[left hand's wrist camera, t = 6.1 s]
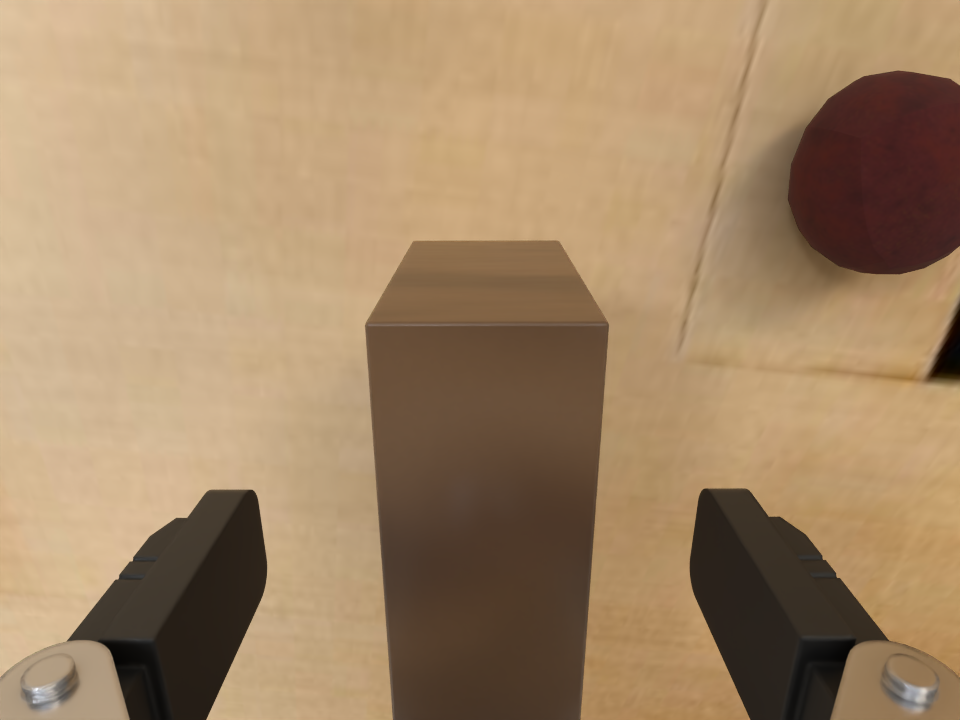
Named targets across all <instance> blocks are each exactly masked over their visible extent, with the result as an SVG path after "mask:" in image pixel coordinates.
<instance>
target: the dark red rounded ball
mask: <svg viewBox="0 0 960 720" xmlns="http://www.w3.org/2000/svg"><path fill="white" fill-rule="evenodd" d="M788 201H789V204H790V207H791V209H792V212H793V215H794V218H795V221H796V223H797V226H798V228H799V230H800V232H801V233H802V234H803V236H804V237H805V238H806V240H807V241H808V243H809V244H810V245H811V247H813V248H814V249H815V250H817V251H818V252H819V253H821V254H822V255H824V256H825V257H826V258H828V259H829V260H831V261H832V262H834V263H835V264H836V265H838V266H840V267H844V268H847V269H851V270H854V271H858V272H862V273H871V274H903V273H907V272H911V271H915V270H919V269H923V268H925V267H927V266H929V265H931V264H933V263H935V262H937V261H939V260H940V259H942V258H944V257H946V256H948V255H949V254H950V253H952V252H953V251H954V250H955V249H956V248H958V247H959V246H960V85H958V84H957V83H955V82H954V81H952V80H951V79H947V78H942V77H936V76H931V75H925V74H919V73H914V72H905V71H893V72H887V73H881V74H875V75H869V76H864V77H862V78H860V79H858V80H856V81H854V82H853V83H851V84H850V85H848V86H847V87H845V88H844V89H842V90H841V91H839V92H838V93H836V94H835V95H834V96H832V97H831V98H829V99H828V100H827V101H826V103H825V104H824V105H823V107H822V108H821V109H820V110H819V112H818V113H817V114H816V116H815V117H814V118H813V120H812V121H811V122H810V124H809V125H808V126H807V128H806V129H805V132H804V134H803V137H802V139H801V142H800V144H799V146H798V149H797V151H796V154H795V156H794V159H793V161H792V164H791V172H790V182H789V193H788Z"/></svg>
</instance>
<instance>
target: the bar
mask: <svg viewBox="0 0 960 720" xmlns="http://www.w3.org/2000/svg"><path fill="white" fill-rule="evenodd" d="M365 331H366V345H367V359H368V373H369V387H370V401H371V415H372V430H373V444H374V458H375V472H376V486H377V500H378V514H379V529H380V543H381V557H382V571H383V585H384V599H385V613H386V628H387V642H388V656H389V670H390V684H391V698H392V712H393V720H580V717H581V704H582V690H583V676H584V662H585V648H586V635H587V621H588V607H589V593H590V579H591V565H592V552H593V538H594V524H595V510H596V496H597V483H598V469H599V455H600V441H601V427H602V413H603V400H604V386H605V372H606V358H607V344H608V331H609V324H608V322H607V320H606V319H605V317H604V315H603V314H602V312H601V310H600V309H599V307H598V305H597V304H596V302H595V300H594V299H593V297H592V295H591V294H590V292H589V290H588V289H587V287H586V285H585V284H584V282H583V280H582V279H581V277H580V275H579V274H578V272H577V270H576V269H575V267H574V265H573V264H572V262H571V260H570V259H569V257H568V255H567V254H566V252H565V250H564V249H563V247H562V245H561V244H560V242H559V241H414V242H413V243H412V244H411V246H410V248H409V250H408V251H407V253H406V255H405V257H404V258H403V260H402V262H401V263H400V265H399V267H398V269H397V270H396V272H395V274H394V276H393V277H392V279H391V281H390V282H389V284H388V286H387V288H386V289H385V291H384V293H383V294H382V296H381V298H380V300H379V301H378V303H377V305H376V307H375V308H374V310H373V312H372V313H371V315H370V317H369V319H368V320H367V322H366V325H365Z"/></svg>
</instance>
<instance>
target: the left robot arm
mask: <svg viewBox="0 0 960 720" xmlns="http://www.w3.org/2000/svg"><path fill="white" fill-rule="evenodd" d="M266 578H267V559H266V552H265V545H264V538H263V531H262V524H261V517H260V510H259V503H258V498H257V495H256V493H255V492H254V491H253V490H209V491H208V492H206V494H205V495H204V496H203V497H202V499H201V500H200V501H199V503H198V504H197V506H196V507H195V508H194V510H193V511H192V512H191V514H190V515H189V516H188V518H176V519H174V520H173V521H171V522H170V523H168V524H167V525H166V526H164V527H163V528H161V529H160V530H158V531H157V532H155V533H154V534H153V535H151V536H150V537H149V538H148V539H147V541H146V542H145V543H144V545H143V546H142V547H141V548H140V550H139V551H138V552H137V553H136V555H135V556H134V557H133V562H129V563H128V565H127V566H126V567H125V569H124V570H123V571H122V572H121V574H120V575H119V580H115V581H114V582H113V584H112V585H111V586H110V587H109V589H108V590H107V591H106V592H105V594H104V595H103V596H102V598H101V599H100V600H99V601H98V603H97V604H96V605H95V606H94V608H93V609H92V610H91V611H90V613H89V614H88V615H87V616H86V618H85V619H84V620H83V622H82V623H81V624H80V625H79V627H78V628H77V629H76V630H75V632H74V633H73V634H72V635H71V637H70V638H69V639H68V640H67V642H63V643H59V644H56V645H53V646H50V647H47V648H44V649H42V650H40V651H38V652H35V653H34V654H32V655H30V656H28V657H26V658H25V659H23V660H21V661H20V662H18V663H17V664H15V665H14V666H13V667H12V668H10V669H9V670H8V671H7V672H5V673H4V674H3V675H2V676H1V677H0V720H206V719H207V717H208V715H209V712H210V710H211V708H212V706H213V704H214V701H215V699H216V697H217V695H218V693H219V690H220V688H221V686H222V684H223V682H224V680H225V677H226V675H227V673H228V671H229V669H230V666H231V664H232V662H233V660H234V658H235V655H236V653H237V651H238V649H239V647H240V644H241V642H242V640H243V638H244V636H245V634H246V631H247V629H248V627H249V625H250V623H251V620H252V618H253V616H254V614H255V612H256V609H257V607H258V605H259V603H260V601H261V598H262V596H263V593H264V589H265V584H266ZM690 578H691V584H692V589H693V592H694V595H695V598H696V600H697V602H698V604H699V607H700V609H701V611H702V613H703V615H704V618H705V620H706V622H707V624H708V627H709V629H710V631H711V633H712V635H713V638H714V640H715V642H716V644H717V646H718V649H719V651H720V653H721V655H722V658H723V660H724V662H725V664H726V666H727V669H728V671H729V673H730V675H731V678H732V680H733V682H734V684H735V686H736V689H737V691H738V693H739V695H740V697H741V700H742V702H743V704H744V706H745V709H746V711H747V713H748V715H749V717H750V720H960V677H959V676H958V675H957V674H956V673H955V672H953V671H952V670H951V669H950V668H948V667H947V666H946V665H945V664H943V663H942V662H940V661H939V660H937V659H935V658H934V657H932V656H930V655H928V654H926V653H925V652H922V651H920V650H918V649H916V648H913V647H910V646H907V645H904V644H901V643H897V642H892V641H889V640H888V639H887V638H886V636H885V635H884V634H883V632H882V631H881V630H880V629H879V627H878V626H877V625H876V624H875V622H874V621H873V620H872V618H871V617H870V616H869V615H868V613H867V612H866V611H865V610H864V608H863V607H862V606H861V604H860V603H859V602H858V601H857V599H856V598H855V597H854V596H853V594H852V593H851V592H850V590H849V589H848V588H847V587H846V585H845V584H844V583H843V581H842V580H841V579H840V578H837V577H836V573H835V571H834V570H833V569H832V567H831V566H830V565H829V564H828V562H827V561H826V560H823V559H822V555H821V553H820V552H819V551H818V550H817V548H816V547H815V546H814V545H813V543H812V542H811V541H810V539H809V538H808V537H807V536H806V535H805V534H804V533H802V532H801V531H800V530H798V529H797V528H795V527H794V526H792V525H791V524H790V523H788V522H787V521H785V520H784V519H782V518H781V517H769V516H768V515H767V514H766V512H765V511H764V510H763V508H762V507H761V505H760V504H759V503H758V501H757V500H756V499H755V497H754V496H753V494H752V493H751V492H750V491H749V490H748V489H703V490H702V491H701V493H700V496H699V500H698V507H697V514H696V521H695V528H694V535H693V542H692V549H691V556H690Z"/></svg>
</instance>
